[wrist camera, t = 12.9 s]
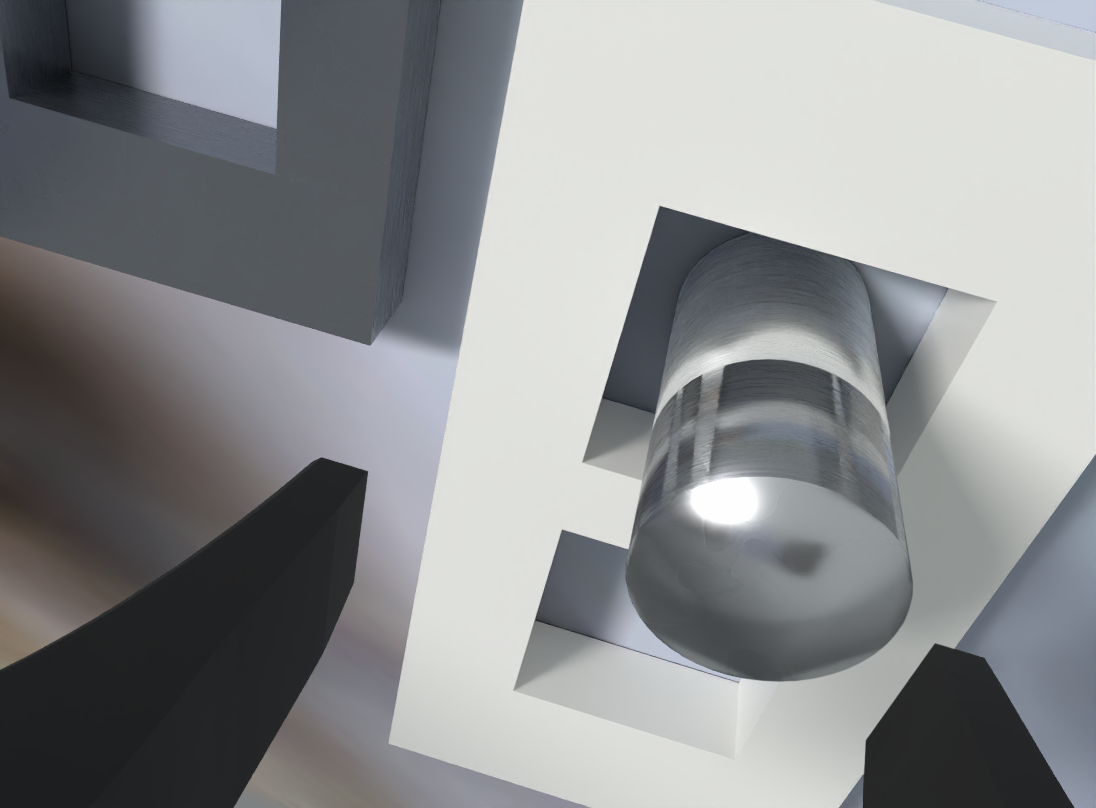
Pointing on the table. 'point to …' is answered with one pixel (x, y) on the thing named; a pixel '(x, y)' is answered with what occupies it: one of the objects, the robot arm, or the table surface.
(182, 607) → the robot arm
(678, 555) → the brushed steel cylinder
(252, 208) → the dark grey socket tray
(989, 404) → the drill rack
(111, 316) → the table surface
